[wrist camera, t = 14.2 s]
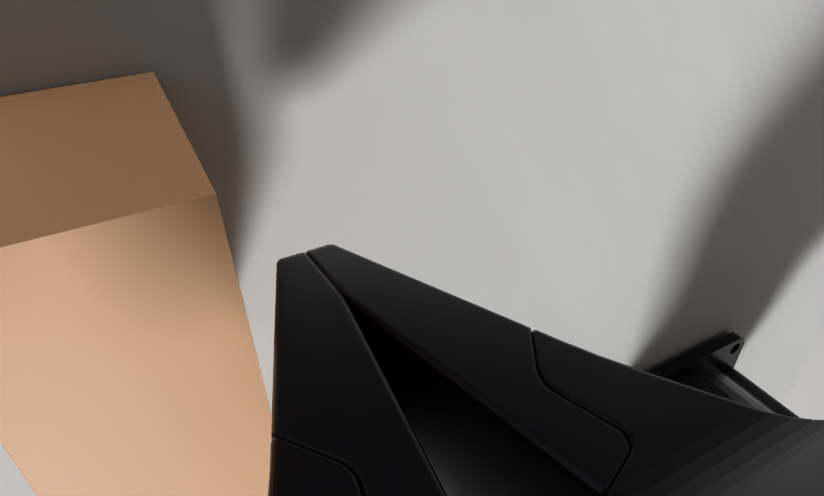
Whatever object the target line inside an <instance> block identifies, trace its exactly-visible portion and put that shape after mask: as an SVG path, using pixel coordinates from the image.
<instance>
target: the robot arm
mask: <svg viewBox="0 0 824 496" xmlns="http://www.w3.org/2000/svg"><path fill="white" fill-rule="evenodd" d="M744 341H745V340H744V338H742V337H741V336H739V335H738V334H736V333H735V332H731V333H729V334H727V335H725V336H723V337H721V338H719V339H717V340H715V341H713V342H711V343H709V344H707V345H705V346H703V347H701V348H699V349H697V350H695V351H693V352H691V353H689V354H687V355H685V356H683V357H681V358H679V359H677V360H675V361H673V362H671V363H669V364H667V365H665V366H663V367H661V368H659V369H657V370H655V371H653V372H651V373H647V372H644V371H642V370H639V369H636V368H633V367H630V366H627V365H624V364H622V363H619V362H616V361H613V360H610V359H607V358H604V357H602V356H599V355H596V354H594V353H591V352H589V351H586V350H584V349H581V348H579V347H576V346H574V345H571V344H569V343H566V342H564V341H561V340H559V339H556V338H554V337H552V336H549V335H547V334H544V333H542V332H540V331H537V330H534V331H533V332H531V329H530V328H529V327H527V326H525V325H523V324H520V323H518V322H515V321H513V320H511V319H508V318H506V317H504V316H501V315H499V314H497V313H494V312H492V311H489V310H487V309H485V308H482V307H480V306H478V305H475V304H473V303H470V302H468V301H466V300H463V299H461V298H459V297H456V296H454V295H451V294H449V293H447V292H444V291H442V290H440V289H437V288H435V287H433V286H430V285H428V284H425V283H423V282H421V281H418V280H416V279H414V278H411V277H409V276H406V275H404V274H402V273H399V272H397V271H395V270H392V269H390V268H387V267H385V266H383V265H380V264H378V263H376V262H373V261H371V260H369V259H366V258H364V257H361V256H359V255H357V254H354V253H352V252H350V251H347V250H345V249H342V248H340V247H338V246H335V245H326V246H322V247H319V248H316V249H312V250H309V251H307V252H306V253H299V254H296V255H292V256H289V257H286V258H282V259H280V260H278V262H277V273H276V303H275V334H274V365H273V396H272V427H271V439H272V441H271V445H270V472H269V486H268V496H824V420H811V419H803V418H799V417H798V416H797V415H795V414H794V413H793V412H791V411H790V410H789V409H787V408H786V407H785V406H783V405H782V404H781V403H779V402H778V401H777V400H775V399H774V398H773V397H771V396H770V395H769V394H767V393H766V392H765V391H763V390H762V389H761V388H759V387H758V386H757V385H755V384H754V383H753V382H751V381H750V380H749V379H747V378H746V377H744V376H743V375H742V374H740V373H739V372H738V371H736V370H735V369H734V366H735V363H736V361H737V359H738V356H739V354H740V352H741V349H742V347H743V345H744Z"/></svg>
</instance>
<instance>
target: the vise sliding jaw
mask: <svg viewBox="0 0 824 496" xmlns="http://www.w3.org/2000/svg"><path fill="white" fill-rule="evenodd" d="M271 427H272V414H271V410H270V406H269V402H268V398H267V394H266V390H265V386H264V382H263V378H262V374H261V370H260V366H259V362H258V358H257V354H256V350H255V346H254V342H253V338H252V334H251V330H250V326H249V322H248V318H247V314H246V310H245V306H244V302H243V298H242V294H241V290H240V286H239V282H238V278H237V274H236V270H235V266H234V262H233V259H232V255H231V251H230V247H229V243H228V239H227V235H226V231H225V227H224V223H223V219H222V215H221V211H220V207H219V203H218V199H217V195H216V192H215V190H214V188H213V186H212V184H211V182H210V181H209V179H208V177H207V175H206V173H205V171H204V169H203V167H202V165H201V163H200V161H199V159H198V157H197V155H196V153H195V151H194V149H193V147H192V145H191V143H190V142H189V140H188V138H187V136H186V134H185V132H184V130H183V128H182V126H181V124H180V122H179V120H178V118H177V116H176V114H175V112H174V110H173V108H172V106H171V104H170V103H169V101H168V99H167V97H166V95H165V93H164V91H163V89H162V87H161V85H160V83H159V81H158V79H157V77H156V75H155V73H154V72H148V73H142V74H136V75H130V76H124V77H118V78H112V79H106V80H100V81H94V82H88V83H82V84H75V85H69V86H63V87H57V88H51V89H45V90H39V91H33V92H27V93H21V94H15V95H9V96H3V97H0V443H1V445H2V446H3V448H4V449H5V451H6V452H7V453H8V455H9V456H10V458H11V459H12V461H13V462H14V463H15V465H16V466H17V468H18V469H19V471H20V472H21V473H22V475H23V476H24V478H25V479H26V480H27V482H28V483H29V485H30V486H31V488H32V489H33V490H34V492H35V493H36V495H37V496H268V486H269V472H270V445H271V441H272V439H271Z"/></svg>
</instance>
